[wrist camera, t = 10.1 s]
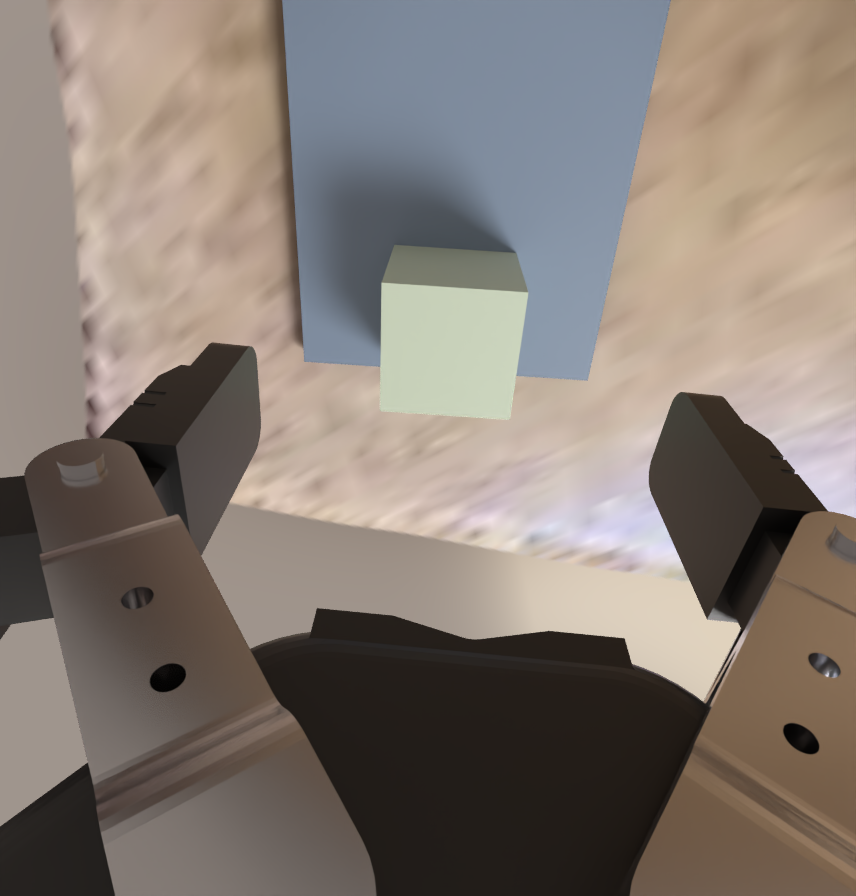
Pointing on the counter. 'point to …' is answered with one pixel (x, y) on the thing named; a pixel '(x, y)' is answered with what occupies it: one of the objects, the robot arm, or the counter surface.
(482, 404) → the sage block
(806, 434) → the counter surface
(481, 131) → the board
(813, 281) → the counter surface
